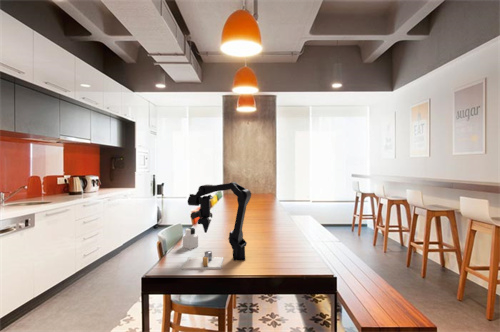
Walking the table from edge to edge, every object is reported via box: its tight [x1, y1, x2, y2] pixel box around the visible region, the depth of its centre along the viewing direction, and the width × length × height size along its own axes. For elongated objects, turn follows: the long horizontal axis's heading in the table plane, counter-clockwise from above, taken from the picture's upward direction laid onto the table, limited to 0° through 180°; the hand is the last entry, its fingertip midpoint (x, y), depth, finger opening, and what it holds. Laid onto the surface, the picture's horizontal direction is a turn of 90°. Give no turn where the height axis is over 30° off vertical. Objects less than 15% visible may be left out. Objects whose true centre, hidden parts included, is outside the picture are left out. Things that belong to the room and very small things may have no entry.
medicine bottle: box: [182, 227, 199, 250], centre depth 182 cm, size 7×7×12 cm
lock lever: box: [202, 250, 213, 266], centre depth 153 cm, size 10×4×4 cm, turn 178°
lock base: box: [182, 256, 224, 271], centre depth 153 cm, size 20×14×1 cm
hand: (205, 232), depth 167 cm, fingers closed
